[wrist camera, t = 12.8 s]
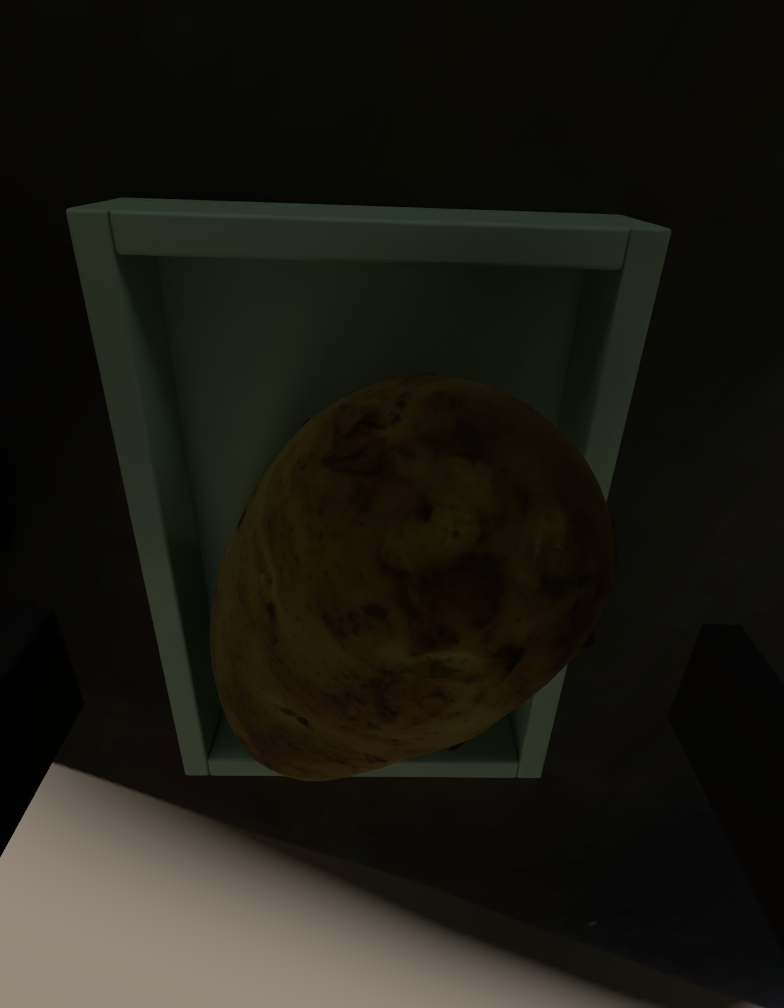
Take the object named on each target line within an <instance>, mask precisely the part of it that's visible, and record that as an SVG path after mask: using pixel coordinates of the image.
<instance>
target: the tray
mask: <svg viewBox="0 0 784 1008" xmlns="http://www.w3.org/2000/svg"><path fill="white" fill-rule="evenodd" d="M66 215H67V220H68V225H69V229H70V234H71V239H72V243H73V248H74V253H75V258H76V262H77V267H78V272H79V276H80V281H81V286H82V290H83V295H84V300H85V305H86V309H87V314H88V319H89V323H90V328H91V333H92V337H93V342H94V347H95V352H96V356H97V361H98V366H99V370H100V375H101V380H102V384H103V389H104V394H105V398H106V403H107V408H108V413H109V417H110V422H111V427H112V431H113V436H114V441H115V445H116V450H117V455H118V460H119V464H120V469H121V474H122V478H123V483H124V488H125V492H126V497H127V502H128V507H129V511H130V516H131V521H132V525H133V530H134V535H135V539H136V544H137V549H138V553H139V558H140V563H141V568H142V572H143V577H144V582H145V586H146V591H147V596H148V600H149V605H150V610H151V615H152V619H153V624H154V629H155V633H156V638H157V643H158V647H159V652H160V657H161V662H162V666H163V671H164V676H165V680H166V685H167V690H168V694H169V699H170V704H171V709H172V713H173V718H174V723H175V727H176V732H177V737H178V741H179V746H180V751H181V755H182V760H183V765H184V770H185V774H186V775H209V774H211V775H236V776H283V775H281V774H279V773H277V772H274V771H272V770H270V769H268V768H266V767H265V766H263V765H261V764H260V763H258V762H257V761H256V760H255V759H254V758H252V757H251V756H250V755H249V754H248V753H247V751H246V750H245V749H244V748H243V747H242V746H241V744H240V743H239V742H238V740H237V739H236V737H235V735H234V734H233V731H232V729H231V727H230V725H229V723H228V721H227V719H226V716H225V713H224V711H223V708H222V705H221V702H220V699H219V695H218V691H217V686H216V682H215V679H214V674H213V669H212V660H211V650H210V620H211V611H212V603H213V598H214V590H215V586H216V583H217V577H218V570H219V566H220V563H221V560H222V558H223V555H224V552H225V550H226V547H227V545H228V544H229V542H230V540H231V538H232V537H233V534H234V532H235V529H236V526H237V524H238V521H239V518H240V516H241V513H242V511H243V509H244V507H245V505H246V503H247V501H248V499H249V498H250V496H251V494H252V492H253V490H254V489H255V487H256V485H257V484H258V482H259V480H260V479H261V477H262V476H263V474H264V473H265V471H266V470H267V468H268V467H269V465H270V464H271V463H272V461H273V460H274V459H275V458H276V456H277V455H278V454H279V452H280V451H281V450H282V448H283V447H284V446H285V444H286V443H287V442H288V441H289V440H290V439H291V437H292V436H293V435H294V434H295V433H296V432H297V431H298V430H299V429H300V428H301V427H302V425H303V422H304V421H305V420H307V419H308V418H312V417H314V416H315V415H316V414H318V413H319V412H321V411H322V410H323V409H325V408H326V407H328V406H329V405H331V404H332V403H334V402H336V401H338V400H340V399H342V398H344V397H346V396H348V395H350V394H352V393H354V392H356V391H358V390H361V389H364V388H366V387H369V386H371V385H374V384H377V383H379V382H380V381H381V380H383V379H385V378H391V377H397V376H401V375H409V374H415V373H421V374H424V373H430V372H432V373H434V374H435V375H437V376H441V377H448V378H460V379H465V380H470V381H475V382H479V383H483V384H486V385H489V386H491V387H494V388H496V389H498V390H501V391H503V392H505V393H507V394H509V395H511V396H513V397H515V398H517V399H519V400H521V401H523V402H525V403H526V404H527V405H529V406H530V407H532V408H533V409H535V410H536V411H537V412H539V413H540V414H542V415H543V416H545V417H546V418H547V419H549V420H550V421H551V422H552V423H553V424H554V425H555V426H557V427H558V428H559V429H560V430H561V431H562V432H563V433H564V434H565V435H566V436H567V437H568V438H569V439H570V440H571V441H572V442H573V443H574V444H575V445H576V447H577V448H578V449H579V451H580V452H581V454H582V455H583V457H584V458H585V460H586V461H587V463H588V464H589V466H590V468H591V470H592V472H593V474H594V475H595V477H596V479H597V481H598V483H599V485H600V487H601V490H602V493H603V495H604V498H605V501H607V497H608V493H609V489H610V485H611V481H612V476H613V472H614V468H615V464H616V460H617V456H618V451H619V447H620V443H621V439H622V435H623V431H624V426H625V422H626V418H627V414H628V410H629V406H630V401H631V397H632V393H633V389H634V385H635V381H636V376H637V372H638V368H639V364H640V360H641V355H642V351H643V347H644V343H645V339H646V335H647V330H648V326H649V322H650V318H651V314H652V310H653V305H654V301H655V297H656V293H657V289H658V285H659V280H660V276H661V272H662V268H663V264H664V260H665V255H666V251H667V247H668V243H669V239H670V235H671V229H669V228H666V227H662V226H659V225H655V224H651V223H648V222H644V221H641V220H637V219H634V218H630V217H627V216H623V215H614V214H585V213H556V212H527V211H498V210H469V209H440V208H411V207H382V206H353V205H324V204H294V203H265V202H236V201H207V200H178V199H149V198H117V199H113V200H108V201H103V202H98V203H93V204H87V205H82V206H77V207H72V208H68V209H67V210H66ZM566 668H567V665H566V666H565V667H564V668H563V669H562V670H561V671H560V672H559V673H558V674H557V675H556V676H555V677H554V678H553V679H552V680H551V681H550V682H549V683H548V684H547V685H546V686H544V687H543V688H542V689H541V690H539V691H538V692H537V693H536V694H535V695H533V696H532V697H531V698H530V699H528V700H527V701H526V702H525V703H523V704H522V705H521V706H519V707H518V708H516V709H515V710H513V711H511V712H510V713H508V714H507V715H505V716H503V717H502V718H501V719H500V720H499V721H497V722H496V723H495V724H494V725H492V726H491V727H490V728H488V729H487V730H485V731H484V732H482V733H480V734H479V735H477V736H476V737H474V738H472V739H469V740H468V741H466V742H465V743H464V744H463V745H462V746H460V747H459V748H457V749H456V750H452V751H449V750H447V749H445V748H444V749H440V750H437V751H434V752H430V753H426V754H422V755H419V756H415V757H410V758H407V759H404V760H401V761H399V762H396V763H394V764H391V765H388V766H386V767H383V768H380V769H376V770H373V771H369V772H365V773H362V774H358V775H354V776H371V777H506V778H514V777H516V775H517V777H518V778H540V777H541V773H542V768H543V764H544V760H545V756H546V752H547V748H548V743H549V739H550V735H551V731H552V727H553V723H554V718H555V714H556V710H557V706H558V702H559V698H560V693H561V689H562V685H563V681H564V677H565V673H566Z"/></svg>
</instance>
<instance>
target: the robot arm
mask: <svg viewBox="0 0 784 1008" xmlns="http://www.w3.org/2000/svg"><path fill="white" fill-rule="evenodd" d="M83 705H84V702H83V699H82V696H81V692H80V689H79V686H78V683H77V680H76V677H75V674H74V670H73V667H72V664H71V661H70V658H69V655H68V652H67V649H66V645H65V642H64V639H63V636H62V633H61V630H60V627H59V623H58V620H57V617H56V614H55V611H54V608H26V607H15V608H14V609H13V610H12V612H11V613H10V614H9V615H8V616H7V618H6V619H5V620H4V621H3V623H2V624H1V625H0V857H1V855H2V853H3V851H4V849H5V848H6V846H7V844H8V842H9V840H10V838H11V837H12V835H13V833H14V831H15V829H16V828H17V826H18V824H19V822H20V820H21V819H22V817H23V815H24V813H25V811H26V809H27V808H28V805H29V804H30V802H31V800H32V798H33V797H34V795H35V792H36V791H37V789H38V787H39V786H40V784H41V782H42V780H43V778H44V776H45V775H46V773H47V771H48V769H49V767H50V766H51V764H52V762H53V760H54V758H55V757H56V755H57V753H58V751H59V749H60V747H61V746H62V744H63V742H64V740H65V738H66V736H67V735H68V733H69V731H70V729H71V727H72V726H73V724H74V722H75V720H76V718H77V716H78V715H79V713H80V711H81V709H82V707H83ZM668 718H669V720H670V722H671V725H672V727H673V729H674V731H675V733H676V735H677V737H678V739H679V741H680V743H681V745H682V747H683V749H684V752H685V754H686V756H687V758H688V760H689V762H690V764H691V766H692V768H693V770H694V772H695V774H696V776H697V779H698V781H699V783H700V785H701V787H702V789H703V791H704V793H705V795H706V797H707V799H708V801H709V803H710V806H711V808H712V810H713V812H714V814H715V816H716V818H717V820H718V822H719V824H720V826H721V828H722V830H723V833H724V835H725V837H726V839H727V841H728V843H729V845H730V847H731V849H732V851H733V853H734V855H735V857H736V860H737V862H738V864H739V866H740V868H741V870H742V872H743V874H744V876H745V878H746V880H747V882H748V884H749V887H750V889H751V891H752V893H753V895H754V897H755V899H756V901H757V903H758V905H759V907H760V909H761V911H762V914H763V916H764V918H765V920H766V922H767V924H768V926H769V928H770V930H771V932H772V934H773V936H774V938H775V941H776V943H777V945H778V947H779V949H780V951H781V953H782V955H783V957H784V685H783V683H782V682H781V681H780V679H779V678H778V676H777V675H776V674H775V672H774V671H773V670H772V668H771V667H770V665H769V664H768V663H767V661H766V660H765V659H764V657H763V656H762V654H761V653H760V652H759V650H758V649H757V647H756V646H755V645H754V643H753V642H752V641H751V639H750V638H749V636H748V635H747V634H746V632H745V631H744V630H743V628H742V627H741V625H720V624H703V625H702V628H701V631H700V633H699V636H698V639H697V641H696V644H695V647H694V649H693V652H692V654H691V657H690V660H689V662H688V665H687V668H686V670H685V673H684V676H683V678H682V681H681V683H680V686H679V689H678V691H677V694H676V697H675V699H674V702H673V705H672V707H671V710H670V713H669V715H668Z"/></svg>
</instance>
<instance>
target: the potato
mask: <svg viewBox="0 0 784 1008" xmlns="http://www.w3.org/2000/svg"><path fill="white" fill-rule="evenodd" d="M616 569H617V551H616V542H615V526H614V519H612V518H611V517H610V515H609V511H608V507H607V504H606V501H605V498H604V495H603V493H602V490H601V487H600V485H599V483H598V481H597V479H596V477H595V475H594V474H593V472H592V470H591V468H590V466H589V464H588V463H587V461H586V460H585V458H584V457H583V455H582V454H581V452H580V451H579V449H578V448H577V447H576V445H575V444H574V443H573V442H572V441H571V440H570V439H569V438H568V437H567V436H566V435H565V434H564V433H563V432H562V431H561V430H560V429H559V428H558V427H557V426H555V425H554V424H553V423H552V422H551V421H550V420H549V419H547V418H546V417H545V416H543V415H542V414H540V413H539V412H537V411H536V410H535V409H533V408H532V407H530V406H529V405H527V404H526V403H525V402H523V401H521V400H519V399H517V398H515V397H513V396H511V395H509V394H507V393H505V392H503V391H501V390H498V389H496V388H494V387H491V386H489V385H486V384H483V383H479V382H475V381H470V380H465V379H460V378H448V377H441V376H437V375H435V374H434V373H432V372H430V373H424V374H421V373H415V374H409V375H401V376H397V377H391V378H385V379H383V380H381V381H380V382H379V383H377V384H374V385H371V386H369V387H366V388H364V389H361V390H358V391H356V392H354V393H352V394H350V395H348V396H346V397H344V398H342V399H340V400H338V401H336V402H334V403H332V404H331V405H329V406H328V407H326V408H325V409H323V410H322V411H321V412H319V413H318V414H316V415H315V416H314V417H312V418H308V419H307V420H305V421H304V422H303V425H302V427H301V428H300V429H299V430H298V431H297V432H296V433H295V434H294V435H293V436H292V437H291V439H290V440H289V441H288V442H287V443H286V444H285V446H284V447H283V448H282V450H281V451H280V452H279V454H278V455H277V456H276V458H275V459H274V460H273V461H272V463H271V464H270V465H269V467H268V468H267V470H266V471H265V473H264V474H263V476H262V477H261V479H260V480H259V482H258V484H257V485H256V487H255V489H254V490H253V492H252V494H251V496H250V498H249V499H248V501H247V503H246V505H245V507H244V509H243V511H242V513H241V516H240V518H239V521H238V524H237V526H236V529H235V532H234V534H233V537H232V538H231V540H230V542H229V544H228V545H227V547H226V550H225V552H224V555H223V558H222V560H221V563H220V566H219V570H218V577H217V583H216V586H215V590H214V598H213V603H212V611H211V620H210V650H211V660H212V669H213V674H214V679H215V682H216V686H217V691H218V695H219V699H220V702H221V705H222V708H223V711H224V713H225V716H226V719H227V721H228V723H229V725H230V727H231V729H232V731H233V734H234V735H235V737H236V739H237V740H238V742H239V743H240V744H241V746H242V747H243V748H244V749H245V750H246V751H247V753H248V754H249V755H250V756H251V757H252V758H254V759H255V760H256V761H257V762H258V763H260V764H261V765H263V766H265V767H266V768H268V769H270V770H272V771H274V772H277V773H279V774H281V775H283V776H286V777H290V778H294V779H298V780H304V781H328V780H333V779H339V778H345V777H350V776H354V775H358V774H362V773H365V772H369V771H373V770H376V769H380V768H383V767H386V766H388V765H391V764H394V763H396V762H399V761H401V760H404V759H407V758H410V757H415V756H419V755H422V754H426V753H430V752H434V751H437V750H440V749H444V748H445V749H447V750H449V751H452V750H456V749H457V748H459V747H460V746H462V745H463V744H464V743H465V742H466V741H468V740H469V739H472V738H474V737H476V736H477V735H479V734H480V733H482V732H484V731H485V730H487V729H488V728H490V727H491V726H492V725H494V724H495V723H496V722H497V721H499V720H500V719H501V718H502V717H503V716H505V715H507V714H508V713H510V712H511V711H513V710H515V709H516V708H518V707H519V706H521V705H522V704H523V703H525V702H526V701H527V700H528V699H530V698H531V697H532V696H533V695H535V694H536V693H537V692H538V691H539V690H541V689H542V688H543V687H544V686H546V685H547V684H548V683H549V682H550V681H551V680H552V679H553V678H554V677H555V676H556V675H557V674H558V673H559V672H560V671H561V670H562V669H563V668H564V667H565V666H566V665H567V664H568V663H569V662H570V661H571V660H572V659H573V658H574V657H575V656H576V654H578V653H581V652H583V651H585V650H587V649H588V648H589V647H590V646H591V645H592V644H593V643H594V641H595V637H594V630H595V628H596V626H597V624H598V622H599V619H600V617H601V615H602V613H603V611H604V609H605V605H606V603H607V602H608V601H609V600H610V598H611V595H612V592H613V590H612V582H613V574H614V572H615V571H616Z"/></svg>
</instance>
